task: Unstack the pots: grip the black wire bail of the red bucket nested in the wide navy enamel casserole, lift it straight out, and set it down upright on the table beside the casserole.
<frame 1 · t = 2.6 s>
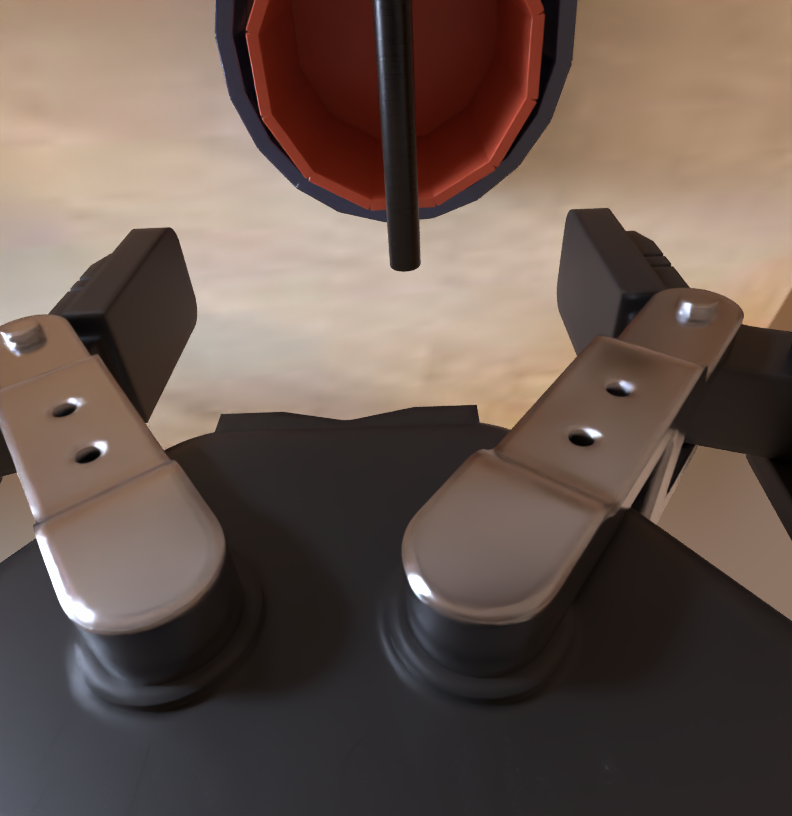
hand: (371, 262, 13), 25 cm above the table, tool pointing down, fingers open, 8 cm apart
red bucket: (395, 29, 31), point 1 cm above the table, touching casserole
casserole: (395, 27, 32), on the table
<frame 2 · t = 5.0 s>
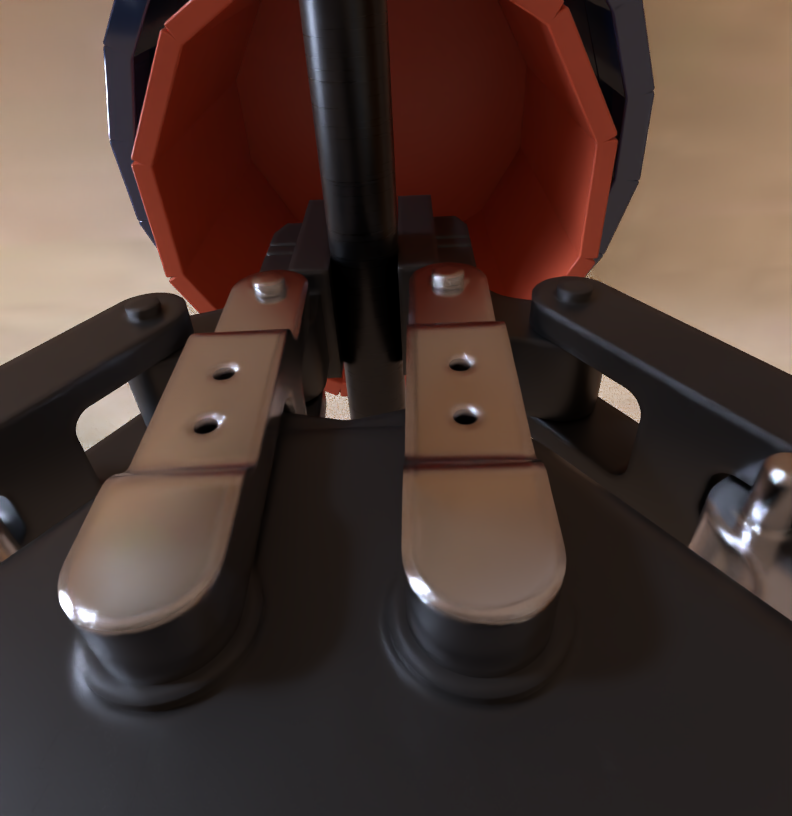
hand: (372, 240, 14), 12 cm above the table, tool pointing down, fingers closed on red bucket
red bucket: (383, 111, 23), point 1 cm above the table, touching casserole, gripper
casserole: (383, 107, 23), on the table
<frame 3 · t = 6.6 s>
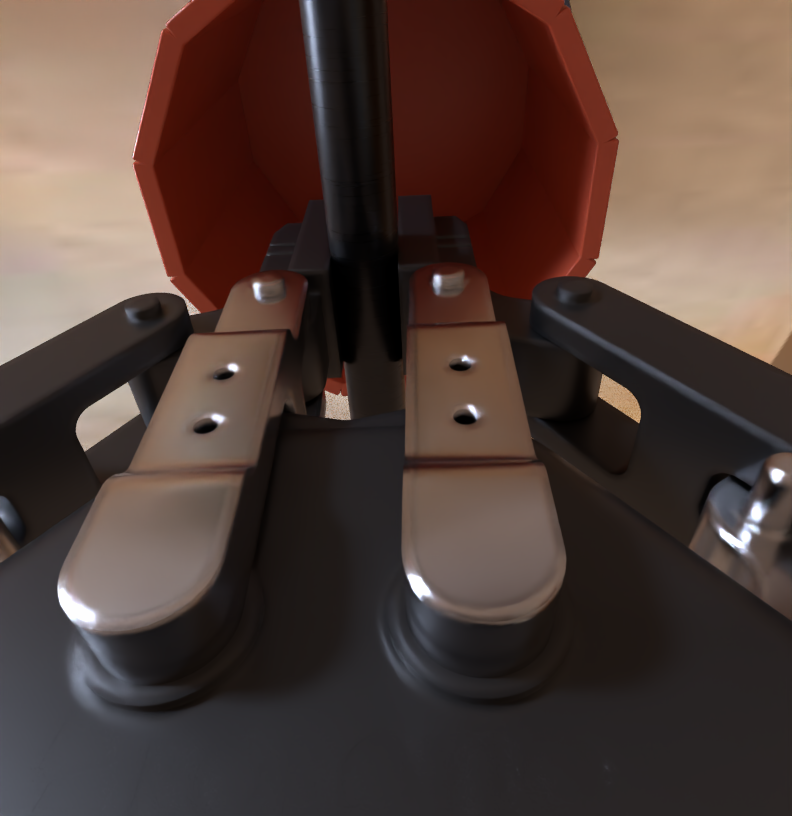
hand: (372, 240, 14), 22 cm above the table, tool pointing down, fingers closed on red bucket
red bucket: (384, 111, 23), point 11 cm above the table, touching gripper
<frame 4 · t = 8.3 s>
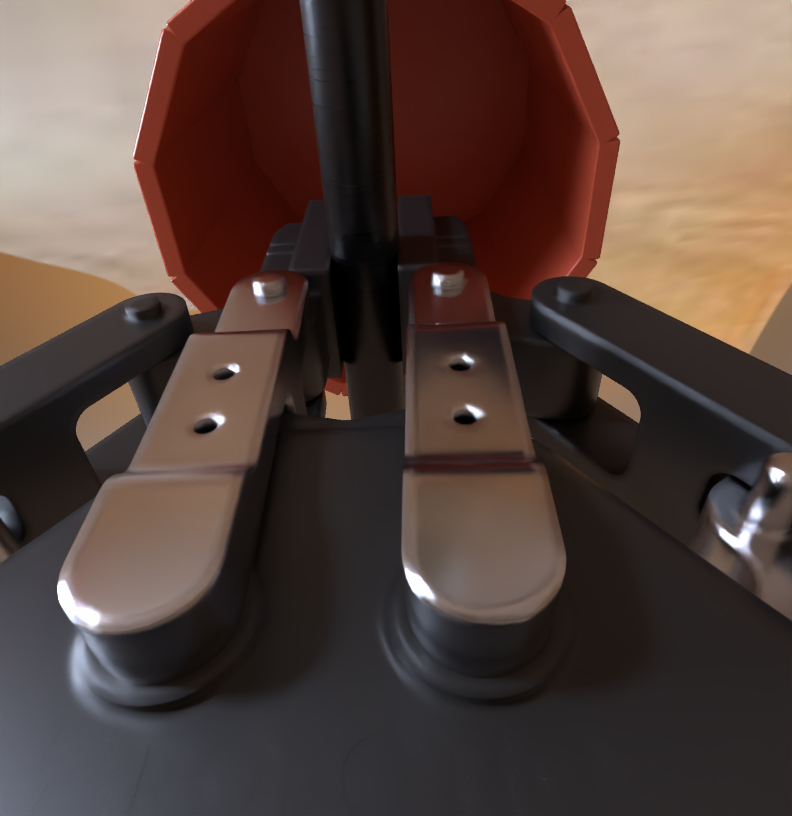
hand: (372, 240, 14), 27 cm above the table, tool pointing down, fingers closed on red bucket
red bucket: (385, 111, 23), point 15 cm above the table, touching gripper
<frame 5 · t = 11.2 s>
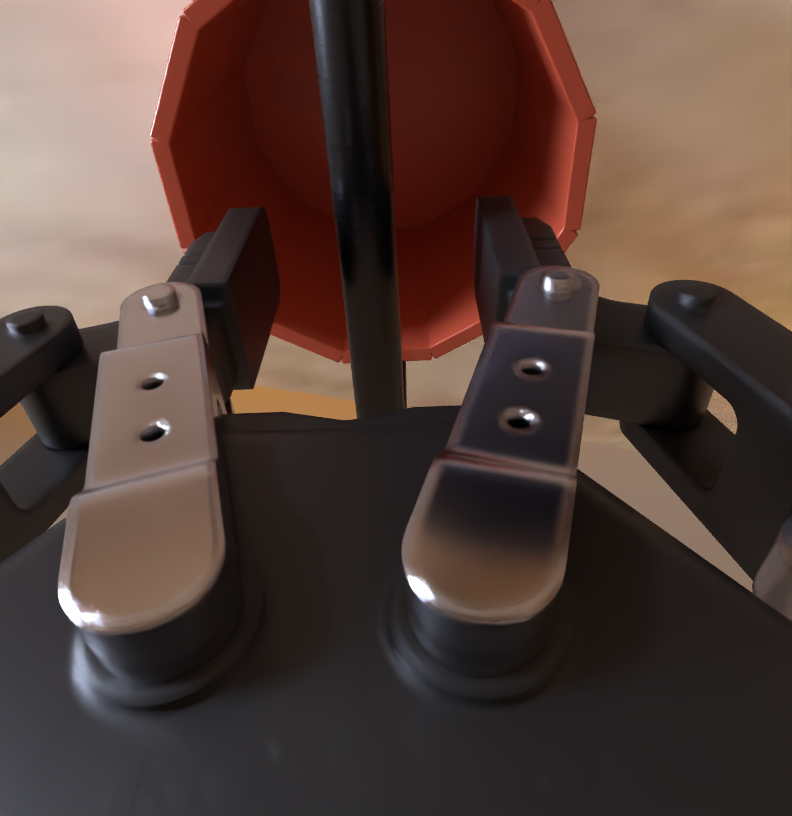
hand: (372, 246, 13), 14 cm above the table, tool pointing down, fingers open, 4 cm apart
red bucket: (382, 99, 24), on the table
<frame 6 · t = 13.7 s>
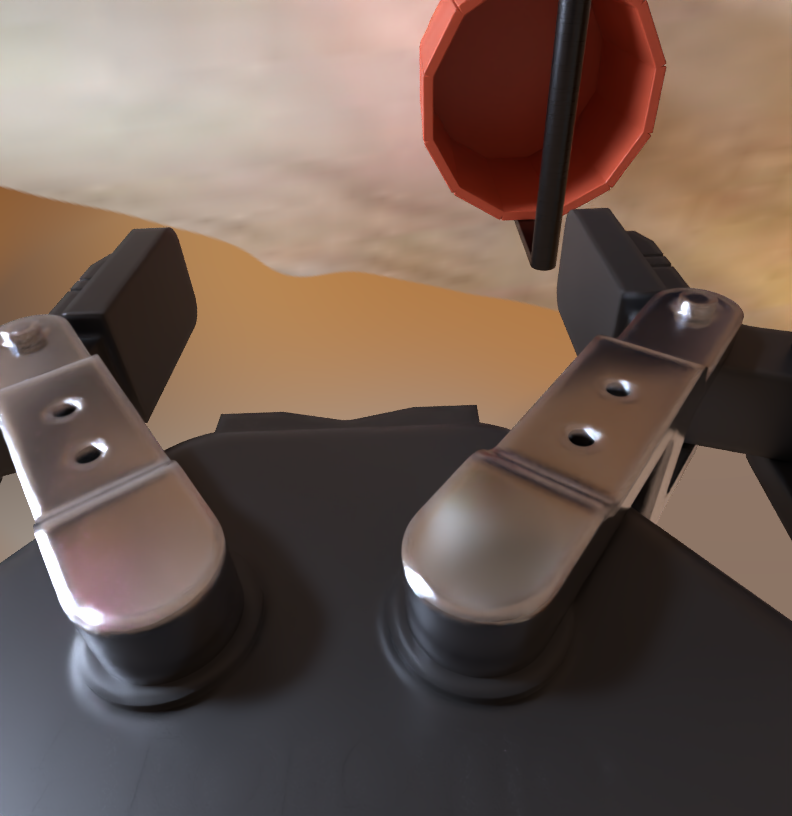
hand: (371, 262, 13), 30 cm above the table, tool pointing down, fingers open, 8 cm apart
red bucket: (512, 67, 37), on the table
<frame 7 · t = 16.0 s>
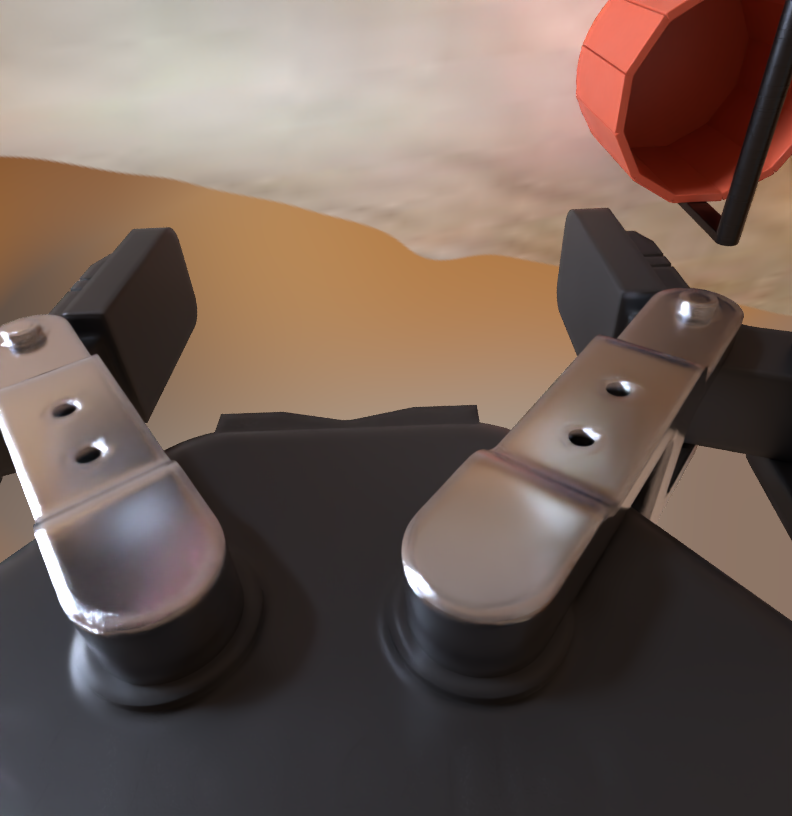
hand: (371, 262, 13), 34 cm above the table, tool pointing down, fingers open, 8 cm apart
red bucket: (661, 64, 40), on the table
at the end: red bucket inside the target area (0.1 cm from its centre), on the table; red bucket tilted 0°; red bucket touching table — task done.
